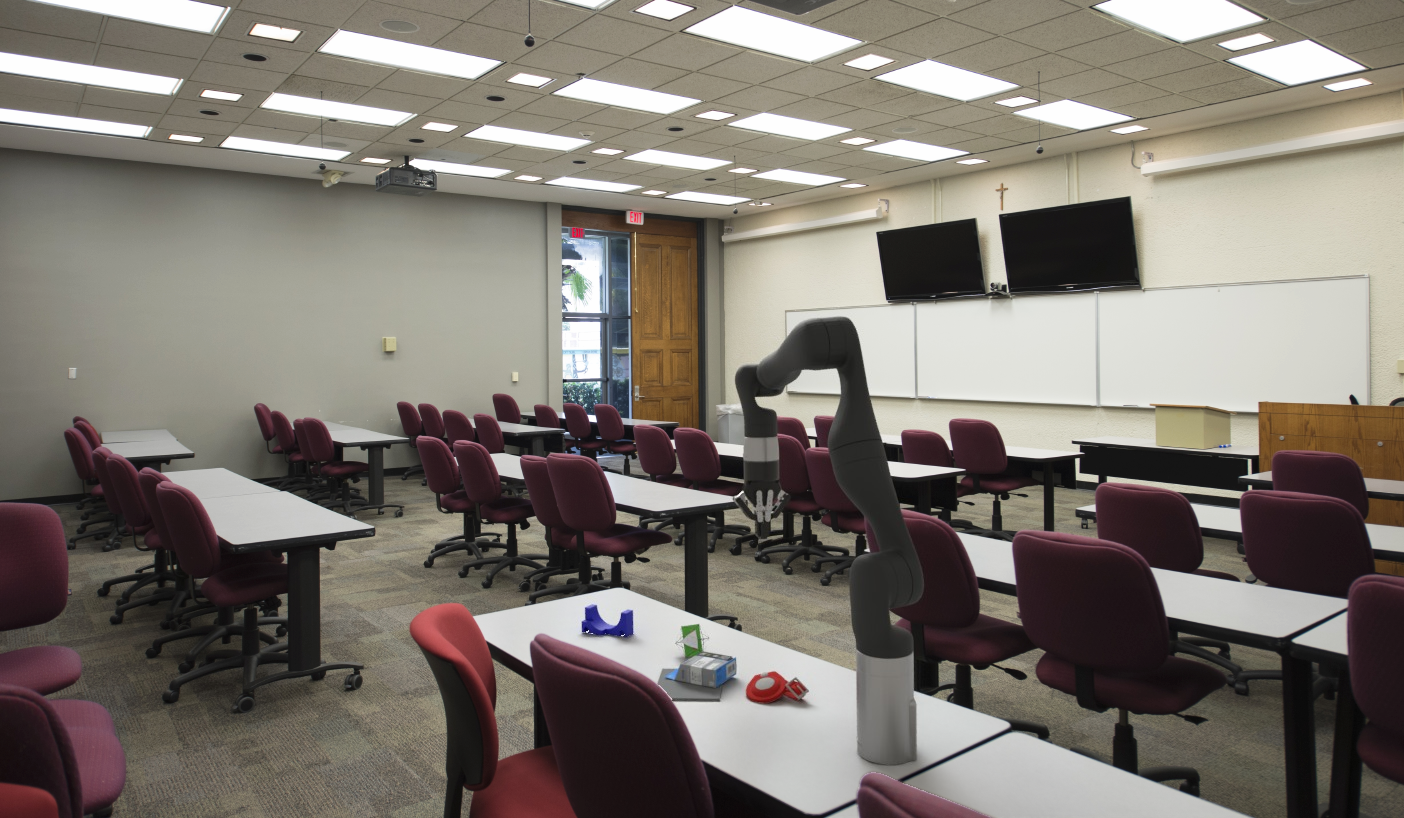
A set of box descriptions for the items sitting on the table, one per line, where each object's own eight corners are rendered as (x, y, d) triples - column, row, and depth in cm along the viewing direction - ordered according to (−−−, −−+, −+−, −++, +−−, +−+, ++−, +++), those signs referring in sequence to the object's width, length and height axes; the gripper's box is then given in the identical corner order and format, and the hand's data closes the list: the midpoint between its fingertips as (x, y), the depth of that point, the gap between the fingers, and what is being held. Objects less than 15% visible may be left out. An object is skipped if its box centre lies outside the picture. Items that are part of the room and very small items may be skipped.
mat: (723, 670, 180) (723, 668, 180) (719, 700, 164) (719, 698, 164) (662, 670, 181) (662, 668, 181) (652, 699, 165) (652, 697, 165)
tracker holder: (744, 700, 162) (742, 669, 171) (750, 719, 163) (748, 688, 173) (807, 686, 161) (802, 656, 170) (812, 706, 162) (807, 674, 172)
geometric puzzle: (670, 639, 194) (676, 618, 189) (699, 636, 196) (705, 614, 192) (678, 666, 189) (684, 645, 184) (708, 662, 191) (714, 640, 186)
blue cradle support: (581, 633, 208) (581, 608, 208) (592, 628, 212) (592, 604, 212) (623, 640, 202) (622, 615, 202) (633, 634, 206) (633, 610, 206)
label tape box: (715, 670, 169) (663, 658, 175) (715, 690, 169) (663, 678, 175) (737, 656, 176) (686, 646, 182) (737, 675, 176) (686, 664, 183)
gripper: (737, 461, 177) (738, 544, 178) (796, 458, 180) (798, 539, 181) (726, 457, 184) (727, 537, 185) (784, 454, 187) (785, 533, 188)
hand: (762, 538), depth 183 cm, fingers closed
